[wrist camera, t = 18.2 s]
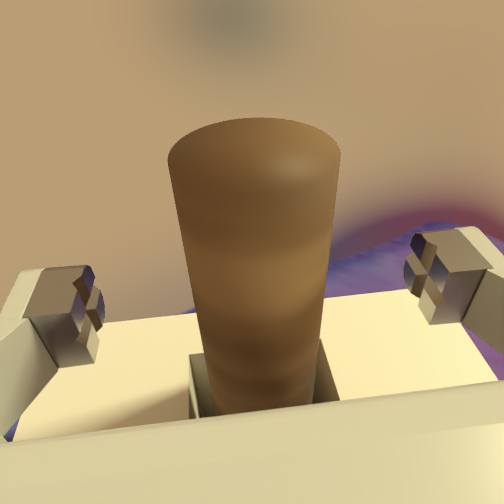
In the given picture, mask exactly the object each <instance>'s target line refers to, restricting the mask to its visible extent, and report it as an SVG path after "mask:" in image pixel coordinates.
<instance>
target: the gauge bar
mask: <svg viewBox="0 0 504 504" xmlns="http://www.w3.org/2000/svg"><path fill="white" fill-rule="evenodd" d="M419 300H420V299H419V298H418V297H416V296H414V295H413V294H411V293H410V292H409V290H408V289H405V290H396V291H387V292H378V293H369V294H360V295H351V296H342V297H333V298H325V299H324V304H323V312H322V321H321V329H320V338H319V347H318V355H317V364H316V373H315V381H314V390H313V399H312V404H317V403H325V402H333V401H341V400H348V399H356V398H364V397H372V396H380V395H388V394H396V393H404V392H412V391H420V390H428V389H436V388H444V387H452V386H460V385H467V384H475V383H483V382H491V381H498V379H497V378H496V376H495V375H494V373H493V372H492V370H491V369H490V367H489V366H488V364H487V363H486V361H485V360H484V358H483V357H482V355H481V354H480V352H479V351H478V349H477V348H476V346H475V345H474V343H473V342H472V340H471V339H470V337H469V336H468V334H467V333H466V331H465V330H464V328H463V327H462V325H461V324H460V323H449V324H438V325H429V324H428V322H427V321H426V319H425V317H424V315H423V314H422V312H421V310H420V309H419V307H418V303H419ZM97 336H98V338H99V340H100V342H99V346H98V351H97V355H96V360H95V363H94V364H87V365H80V366H73V367H66V368H59V369H58V372H57V373H56V374H55V375H54V377H53V378H52V379H51V380H50V381H49V383H48V384H47V385H46V386H45V387H44V388H43V390H42V391H41V392H40V393H39V394H38V396H37V397H36V398H35V399H34V400H33V402H32V403H31V404H30V405H29V406H28V408H27V409H26V410H25V411H24V412H23V414H22V415H21V417H20V420H19V423H18V426H17V429H16V432H15V435H14V438H13V441H12V442H14V441H22V440H30V439H38V438H46V437H53V436H61V435H69V434H77V433H85V432H93V431H101V430H109V429H117V428H125V427H133V426H141V425H149V424H157V423H165V422H173V421H181V420H189V419H197V418H206V417H214V416H216V414H215V409H214V404H213V399H212V393H211V388H210V383H209V378H208V372H207V367H206V362H205V356H204V351H203V346H202V341H201V335H200V330H199V325H198V320H197V314H196V313H191V314H182V315H173V316H165V317H156V318H147V319H138V320H130V321H120V322H111V323H103V327H102V328H101V329H100V330H99V331H98V332H97Z"/></svg>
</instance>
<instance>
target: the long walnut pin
mask: <svg viewBox="0 0 504 504" xmlns="http://www.w3.org/2000/svg"><path fill="white" fill-rule="evenodd" d="M340 154H341V153H340V149H339V147H338V145H337V143H336V142H335V141H334V140H333V138H331V137H330V136H329V135H328V134H326V133H325V132H323V131H321V130H319V129H317V128H315V127H313V126H310V125H307V124H303V123H300V122H296V121H291V120H285V119H276V118H243V119H235V120H228V121H223V122H219V123H215V124H211V125H208V126H205V127H203V128H200V129H198V130H195V131H193V132H191V133H189V134H188V135H186V136H185V137H183V138H181V139H180V140H179V141H178V142H177V143H176V144H175V145H174V146H173V147H172V149H171V150H170V153H169V156H168V166H169V172H170V177H171V182H172V188H173V193H174V198H175V204H176V209H177V214H178V220H179V225H180V230H181V235H182V241H183V246H184V251H185V256H186V262H187V267H188V272H189V277H190V283H191V288H192V293H193V298H194V304H195V309H196V314H197V320H198V325H199V330H200V335H201V341H202V346H203V351H204V356H205V362H206V367H207V372H208V378H209V383H210V388H211V393H212V399H213V404H214V409H215V414H216V416H222V415H230V414H238V413H246V412H254V411H262V410H270V409H277V408H285V407H293V406H301V405H309V404H312V399H313V390H314V381H315V373H316V364H317V355H318V347H319V338H320V329H321V321H322V312H323V304H324V295H325V286H326V278H327V269H328V260H329V252H330V243H331V233H332V226H333V217H334V208H335V200H336V191H337V181H338V174H339V165H340Z"/></svg>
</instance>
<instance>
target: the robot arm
mask: <svg viewBox="0 0 504 504" xmlns="http://www.w3.org/2000/svg"><path fill="white" fill-rule="evenodd" d="M409 246H410V247H411V249H412V250H413V252H412V253H411V254H410V255H409V256H408V257H407V258H406V259H405V263H404V268H403V271H404V280H405V283H406V286H407V288H408V290H409V292H410V293H411V294H413V295H414V296H416V297H418V298H419V299H420V300H419V303H418V307H419V309H420V310H421V312H422V314H423V315H424V317H425V319H426V321H427V322H428V324H429V325H438V324H449V323H461V322H462V325H464V326H465V327H466V328H468V329H469V330H471V331H472V332H473V333H475V334H476V335H477V336H479V337H480V338H481V339H483V340H484V341H486V342H487V343H488V344H490V345H491V346H492V347H494V348H495V349H496V350H498V351H499V352H501V353H502V354H503V355H504V256H503V255H502V254H501V252H500V251H499V250H498V249H497V248H496V247H495V246H494V245H493V244H492V243H491V242H490V241H489V240H488V238H487V237H486V236H485V235H484V234H483V233H482V232H481V231H480V230H479V229H478V228H476V227H473V226H471V227H462V228H454V229H449V230H439V231H429V232H420V233H415V234H414V235H413V237H412V239H411V242H410V245H409ZM94 279H95V275H94V273H93V271H92V268H91V267H90V266H88V265H79V266H66V267H53V268H45V269H31V270H24V271H22V272H21V273H20V274H19V275H18V277H17V279H16V281H15V283H14V285H13V287H12V290H11V292H10V294H9V295H8V298H7V300H6V302H5V304H4V306H3V308H2V310H1V312H0V504H504V380H499V381H491V382H483V383H475V384H467V385H460V386H452V387H444V388H436V389H428V390H420V391H412V392H404V393H396V394H388V395H380V396H372V397H364V398H356V399H348V400H341V401H333V402H325V403H317V404H309V405H301V406H293V407H285V408H277V409H270V410H262V411H254V412H246V413H238V414H230V415H222V416H214V417H206V418H197V419H189V420H181V421H173V422H165V423H157V424H149V425H141V426H133V427H125V428H117V429H109V430H101V431H93V432H85V433H77V434H69V435H61V436H53V437H46V438H38V439H30V440H22V441H14V442H7V441H6V440H5V439H4V438H3V436H4V435H5V434H6V433H7V431H8V430H9V429H10V428H11V427H12V425H13V424H14V423H15V422H16V421H17V419H18V418H19V417H20V416H21V415H22V414H23V412H24V411H25V410H26V409H27V408H28V406H29V405H30V404H31V403H32V402H33V400H34V399H35V398H36V397H37V396H38V394H39V393H40V392H41V391H42V390H43V388H44V387H45V386H46V385H47V384H48V383H49V381H50V380H51V379H52V378H53V377H54V375H55V374H56V373H57V372H58V369H59V368H66V367H73V366H80V365H87V364H94V363H95V360H96V355H97V351H98V346H99V342H100V340H99V338H98V336H97V332H98V331H99V330H100V329H101V328H102V327H103V323H104V318H105V309H104V308H105V305H104V301H103V296H102V293H101V290H99V289H98V288H96V287H95V286H94V285H93V283H94Z"/></svg>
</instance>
